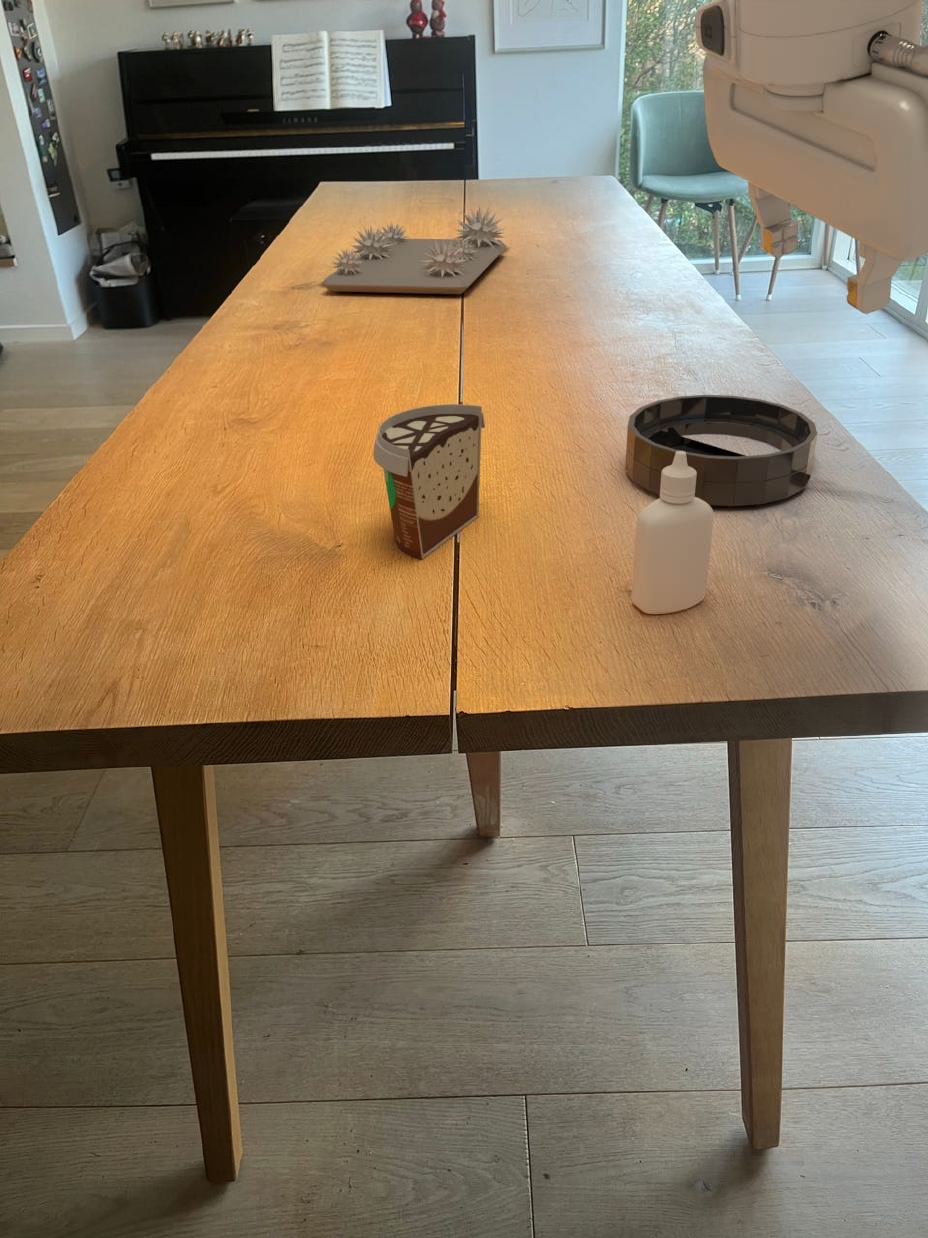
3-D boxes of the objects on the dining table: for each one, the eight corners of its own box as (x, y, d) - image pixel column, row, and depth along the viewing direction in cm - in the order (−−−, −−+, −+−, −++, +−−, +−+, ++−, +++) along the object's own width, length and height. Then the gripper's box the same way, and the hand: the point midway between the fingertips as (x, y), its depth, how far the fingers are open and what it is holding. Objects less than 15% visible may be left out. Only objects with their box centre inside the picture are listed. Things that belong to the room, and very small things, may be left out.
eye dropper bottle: (629, 586, 77) (638, 440, 71) (702, 588, 76) (718, 441, 70) (631, 615, 73) (641, 464, 67) (708, 617, 73) (725, 465, 66)
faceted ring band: (843, 472, 95) (852, 422, 92) (739, 528, 85) (746, 474, 82) (695, 429, 106) (700, 383, 103) (589, 474, 96) (591, 425, 94)
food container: (430, 498, 93) (424, 394, 87) (486, 510, 90) (484, 404, 85) (351, 551, 84) (340, 439, 78) (412, 567, 81) (404, 451, 76)
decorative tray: (382, 253, 194) (378, 199, 189) (511, 255, 188) (511, 199, 183) (320, 295, 165) (314, 232, 160) (471, 299, 159) (469, 234, 154)
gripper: (1029, 32, 42) (986, 326, 52) (778, -24, 58) (779, 210, 67) (897, 78, 42) (878, 366, 51) (679, 9, 57) (694, 241, 66)
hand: (820, 277), depth 59 cm, fingers open, 8 cm apart
